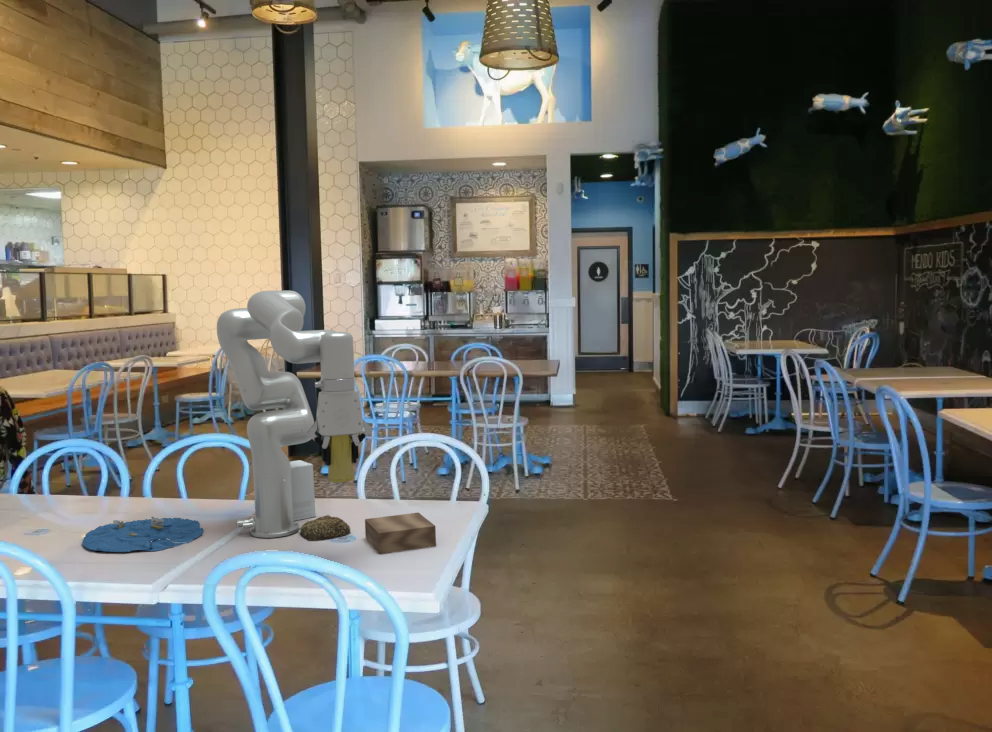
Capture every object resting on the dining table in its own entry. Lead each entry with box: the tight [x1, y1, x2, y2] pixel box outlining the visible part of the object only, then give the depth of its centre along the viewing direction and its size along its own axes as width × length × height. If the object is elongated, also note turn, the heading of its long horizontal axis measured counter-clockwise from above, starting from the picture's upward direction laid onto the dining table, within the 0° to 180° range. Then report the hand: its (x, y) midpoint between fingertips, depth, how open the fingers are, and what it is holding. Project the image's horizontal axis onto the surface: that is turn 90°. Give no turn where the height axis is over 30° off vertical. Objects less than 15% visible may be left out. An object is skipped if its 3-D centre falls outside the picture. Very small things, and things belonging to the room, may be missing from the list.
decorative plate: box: [82, 516, 204, 553], centre depth 222 cm, size 30×30×5 cm
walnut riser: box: [364, 512, 437, 555], centre depth 211 cm, size 14×14×5 cm
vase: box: [327, 435, 355, 483], centre depth 198 cm, size 6×6×14 cm
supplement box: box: [289, 459, 317, 522], centre depth 238 cm, size 9×9×15 cm
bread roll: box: [299, 514, 351, 541], centre depth 221 cm, size 13×12×5 cm
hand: (340, 462), depth 199 cm, fingers closed on vase, 5 cm apart
